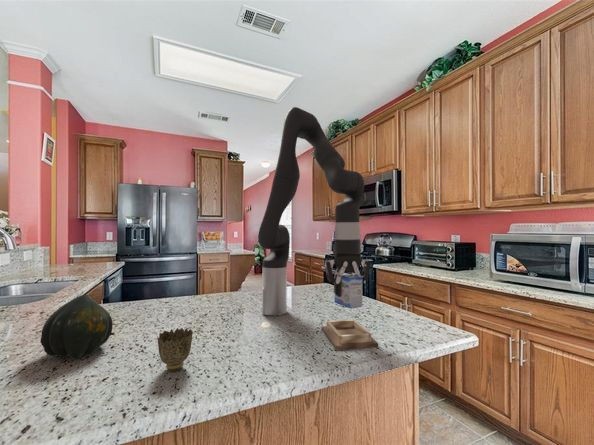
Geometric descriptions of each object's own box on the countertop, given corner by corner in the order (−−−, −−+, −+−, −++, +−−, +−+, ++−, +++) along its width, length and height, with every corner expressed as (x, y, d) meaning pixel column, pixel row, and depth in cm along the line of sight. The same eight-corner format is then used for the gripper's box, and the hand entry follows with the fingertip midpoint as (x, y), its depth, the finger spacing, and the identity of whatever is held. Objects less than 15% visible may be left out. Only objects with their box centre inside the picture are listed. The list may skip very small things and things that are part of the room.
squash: (38, 351, 61) (91, 290, 70) (16, 340, 69) (66, 286, 78) (94, 374, 69) (135, 317, 78) (69, 361, 77) (108, 311, 86)
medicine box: (334, 302, 85) (333, 273, 86) (346, 300, 87) (345, 272, 88) (350, 309, 78) (350, 277, 79) (363, 307, 80) (362, 276, 81)
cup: (164, 361, 68) (164, 327, 68) (196, 360, 69) (196, 327, 69) (151, 377, 61) (151, 340, 61) (186, 376, 61) (187, 339, 61)
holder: (335, 350, 74) (335, 338, 74) (321, 329, 89) (321, 320, 89) (378, 346, 76) (378, 335, 76) (357, 327, 91) (357, 318, 91)
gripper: (365, 237, 88) (365, 291, 88) (320, 237, 86) (320, 293, 86) (375, 238, 81) (376, 297, 81) (327, 238, 78) (327, 300, 78)
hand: (347, 295), depth 83 cm, fingers closed on medicine box, 5 cm apart
